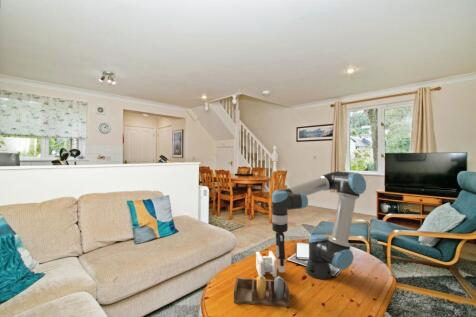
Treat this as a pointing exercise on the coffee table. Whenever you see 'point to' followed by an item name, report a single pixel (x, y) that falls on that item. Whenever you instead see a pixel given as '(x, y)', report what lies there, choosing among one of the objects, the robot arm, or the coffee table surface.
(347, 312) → the coffee table surface
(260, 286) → the yellow knobbed cylinder
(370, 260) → the coffee table surface
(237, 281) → the brown compartment tray
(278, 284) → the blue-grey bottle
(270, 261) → the cable organizer
